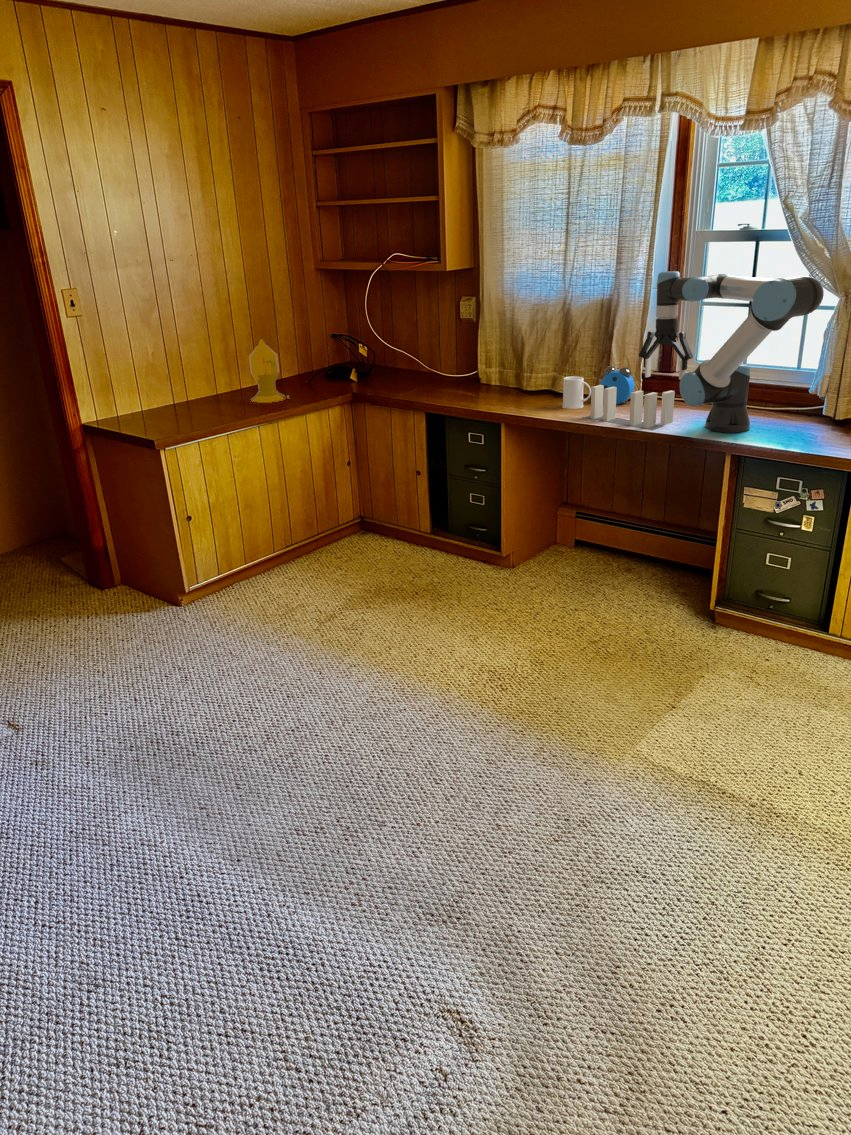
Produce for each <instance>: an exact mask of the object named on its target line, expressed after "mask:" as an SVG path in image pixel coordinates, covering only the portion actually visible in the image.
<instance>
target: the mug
mask: <svg viewBox="0 0 851 1135" xmlns="http://www.w3.org/2000/svg"><path fill="white" fill-rule="evenodd" d="M584 380H585V378H584V377H583V376H580V375H579V376H578V375H577V376H576V375H572V376H566V377H563V381H562V382H563V386H562V387H563V389H562V390H563V391H562V392H563V394H562V409H569V410H572V409H573V410H574V409H575V410H577V409H583V408H584V402H586V401H588V400H589V399H590V398H591V386H590V384H588V383H587V382H586V381H584ZM584 386H586V387H587V388H588V390H589V393H588V395H587V397H586V398H584Z"/></svg>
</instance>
